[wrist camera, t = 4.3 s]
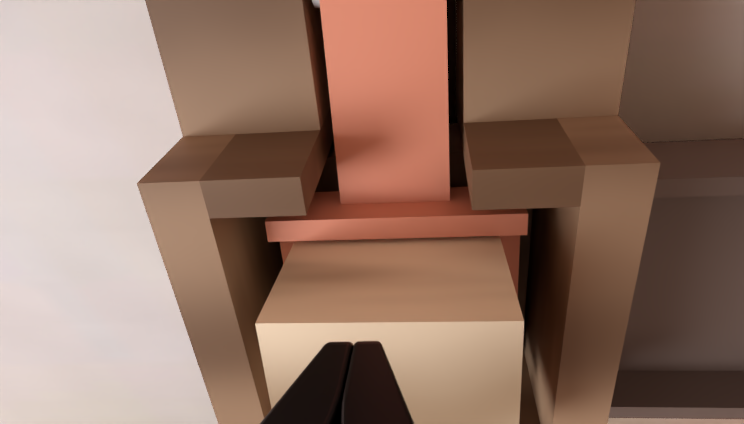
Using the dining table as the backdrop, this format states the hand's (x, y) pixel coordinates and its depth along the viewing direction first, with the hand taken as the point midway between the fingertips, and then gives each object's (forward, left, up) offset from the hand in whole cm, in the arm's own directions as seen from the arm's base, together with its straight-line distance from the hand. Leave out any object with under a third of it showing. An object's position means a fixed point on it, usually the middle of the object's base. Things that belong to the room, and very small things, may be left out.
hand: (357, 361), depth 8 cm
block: (-5, 0, -7) cm, 8 cm away
